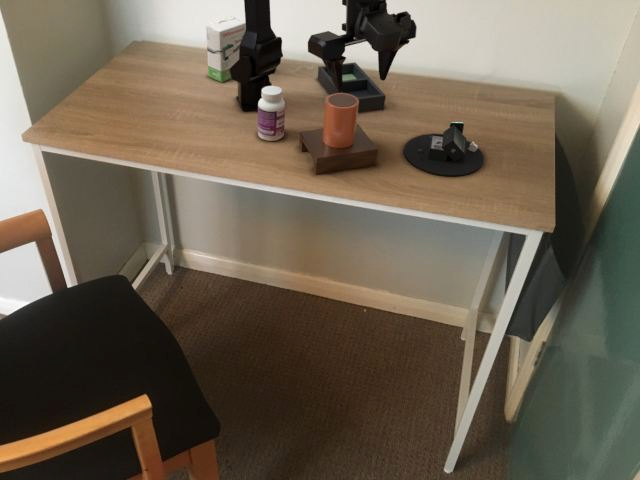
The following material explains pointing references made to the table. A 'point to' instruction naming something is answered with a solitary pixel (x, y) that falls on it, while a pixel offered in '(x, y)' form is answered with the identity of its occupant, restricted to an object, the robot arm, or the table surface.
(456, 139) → the black round base
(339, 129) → the cup
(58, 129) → the table surface
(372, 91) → the tray
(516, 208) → the table surface
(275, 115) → the pill bottle
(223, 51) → the ink box
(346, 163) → the brown wooden riser
